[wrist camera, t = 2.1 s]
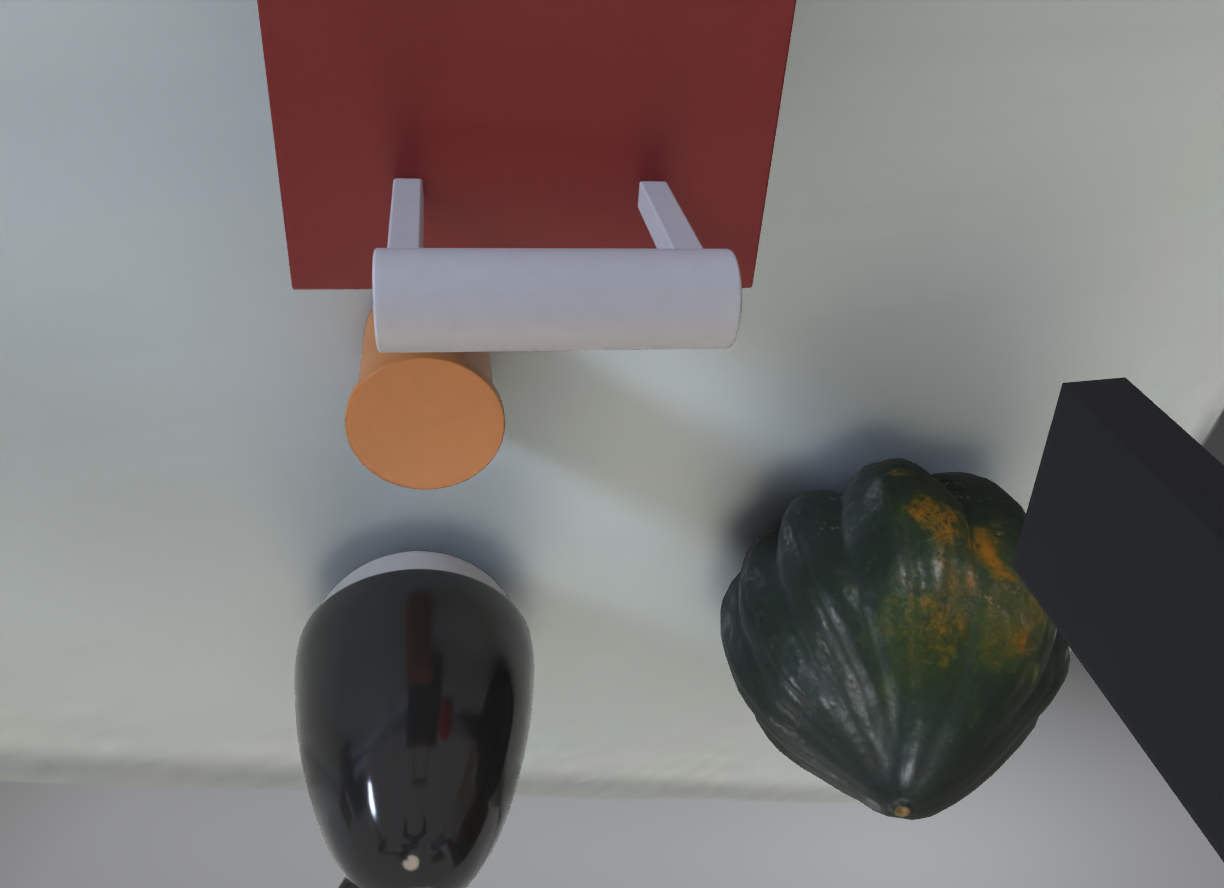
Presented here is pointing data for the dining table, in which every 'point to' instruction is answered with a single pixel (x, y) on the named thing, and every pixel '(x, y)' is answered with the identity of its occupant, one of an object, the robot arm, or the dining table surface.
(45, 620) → the dining table surface
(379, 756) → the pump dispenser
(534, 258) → the lid
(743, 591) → the squash
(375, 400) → the orange tapered cylinder
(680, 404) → the dining table surface
